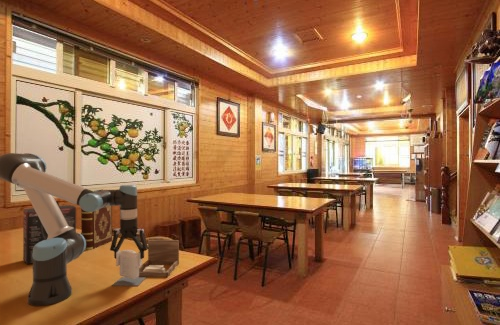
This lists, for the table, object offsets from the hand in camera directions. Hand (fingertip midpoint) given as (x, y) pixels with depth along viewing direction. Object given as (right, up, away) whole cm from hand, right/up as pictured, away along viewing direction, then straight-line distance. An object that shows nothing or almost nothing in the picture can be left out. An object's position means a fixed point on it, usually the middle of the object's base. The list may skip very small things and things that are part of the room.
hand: (129, 265), depth 138 cm
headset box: (-62, -8, +36) cm, 72 cm away
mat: (0, -8, 0) cm, 8 cm away
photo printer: (0, -5, 0) cm, 5 cm away
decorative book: (-47, -8, +62) cm, 78 cm away
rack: (+9, -8, +16) cm, 20 cm away
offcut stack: (+8, -8, +10) cm, 15 cm away
